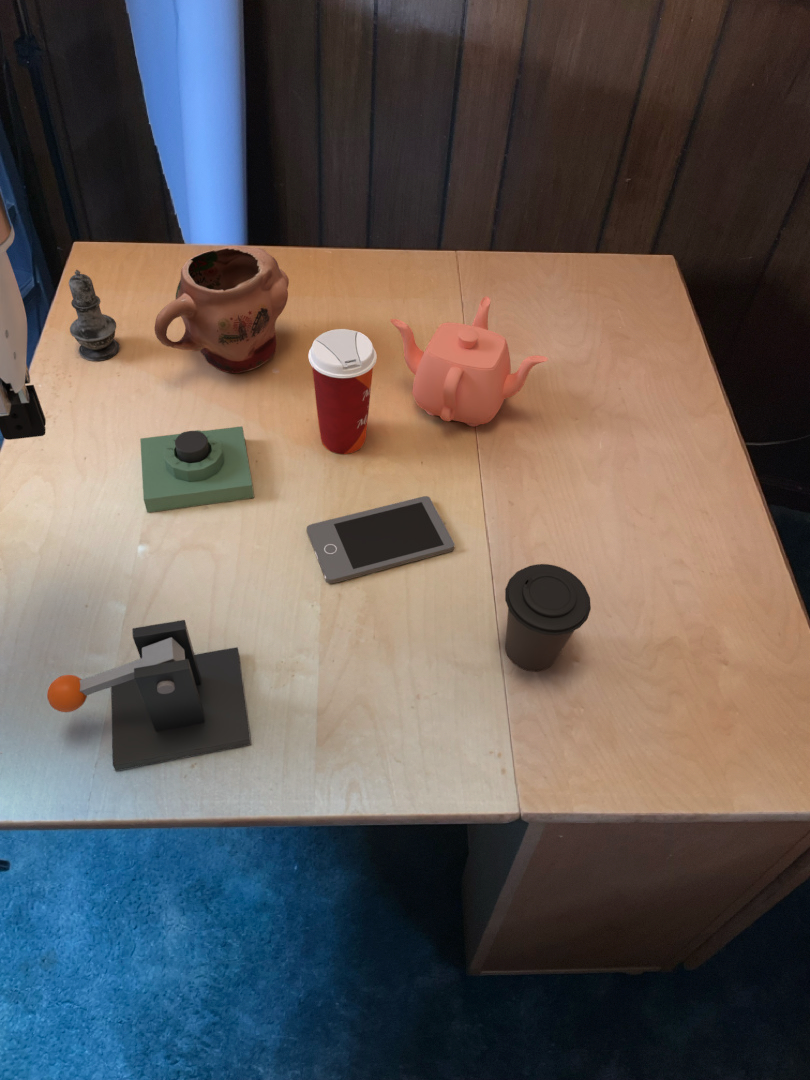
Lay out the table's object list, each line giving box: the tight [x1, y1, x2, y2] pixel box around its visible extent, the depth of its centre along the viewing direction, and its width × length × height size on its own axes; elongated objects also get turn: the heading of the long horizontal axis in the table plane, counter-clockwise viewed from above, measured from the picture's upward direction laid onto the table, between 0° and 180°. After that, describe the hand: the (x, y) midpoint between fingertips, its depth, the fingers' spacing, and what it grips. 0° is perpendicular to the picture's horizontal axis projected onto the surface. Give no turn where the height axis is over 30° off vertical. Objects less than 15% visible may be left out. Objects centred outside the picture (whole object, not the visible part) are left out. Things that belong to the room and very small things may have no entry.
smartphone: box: [306, 495, 455, 584], centre depth 90 cm, size 15×8×1 cm, turn 111°
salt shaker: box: [68, 269, 121, 362], centre depth 104 cm, size 6×6×12 cm
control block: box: [139, 426, 255, 513], centre depth 94 cm, size 12×10×4 cm
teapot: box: [389, 296, 549, 427], centre depth 102 cm, size 14×14×11 cm
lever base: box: [110, 619, 252, 772], centre depth 72 cm, size 12×10×11 cm
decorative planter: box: [154, 245, 290, 374], centre depth 104 cm, size 20×12×14 cm, turn 141°
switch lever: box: [46, 637, 185, 713], centre depth 69 cm, size 12×3×3 cm, turn 104°
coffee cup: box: [504, 563, 592, 673], centre depth 78 cm, size 8×8×10 cm
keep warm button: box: [175, 430, 209, 463], centre depth 92 cm, size 4×4×2 cm
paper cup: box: [308, 328, 378, 455], centre depth 95 cm, size 8×8×14 cm
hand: (25, 430), depth 66 cm, fingers closed
